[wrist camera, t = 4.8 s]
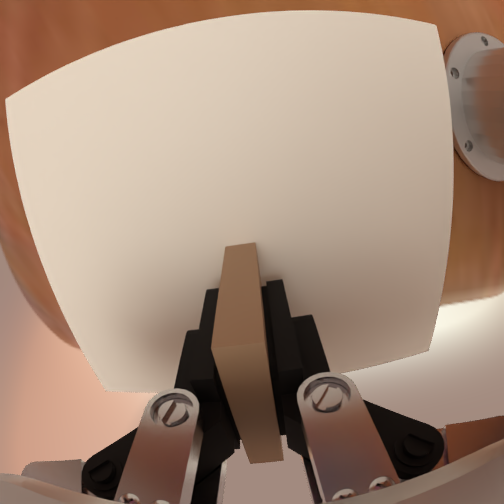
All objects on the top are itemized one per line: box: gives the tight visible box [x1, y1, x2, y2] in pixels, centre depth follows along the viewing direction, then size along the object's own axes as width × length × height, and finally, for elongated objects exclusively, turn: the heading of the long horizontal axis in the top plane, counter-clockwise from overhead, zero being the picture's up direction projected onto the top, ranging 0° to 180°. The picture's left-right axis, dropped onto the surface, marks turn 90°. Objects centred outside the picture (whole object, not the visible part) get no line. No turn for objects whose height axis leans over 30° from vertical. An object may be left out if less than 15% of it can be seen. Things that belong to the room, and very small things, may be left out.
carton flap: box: [5, 10, 454, 464], centre depth 8 cm, size 14×16×6 cm
